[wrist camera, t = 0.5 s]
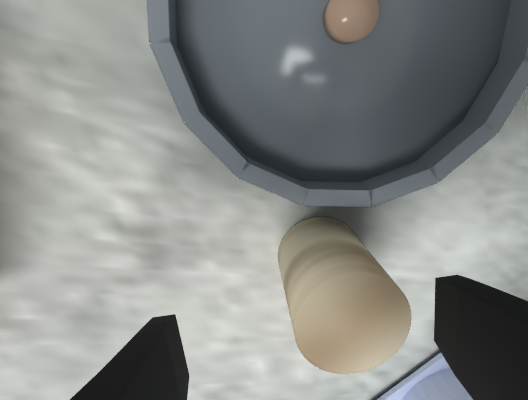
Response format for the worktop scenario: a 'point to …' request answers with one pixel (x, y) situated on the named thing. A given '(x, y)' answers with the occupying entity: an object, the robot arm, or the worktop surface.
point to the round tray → (342, 88)
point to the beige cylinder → (340, 298)
